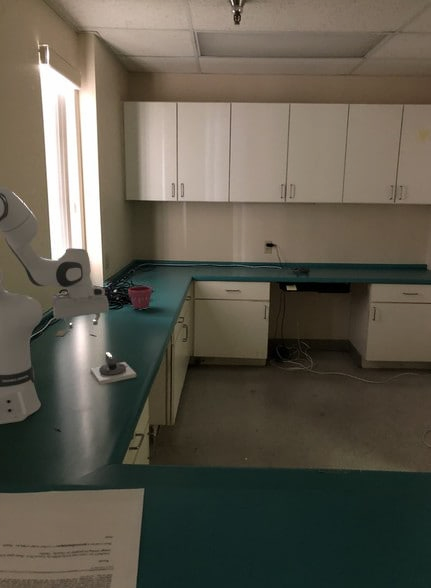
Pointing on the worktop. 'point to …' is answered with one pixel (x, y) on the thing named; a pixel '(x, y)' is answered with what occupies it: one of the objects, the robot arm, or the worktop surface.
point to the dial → (112, 366)
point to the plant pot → (140, 296)
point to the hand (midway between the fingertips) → (83, 326)
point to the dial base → (112, 378)
